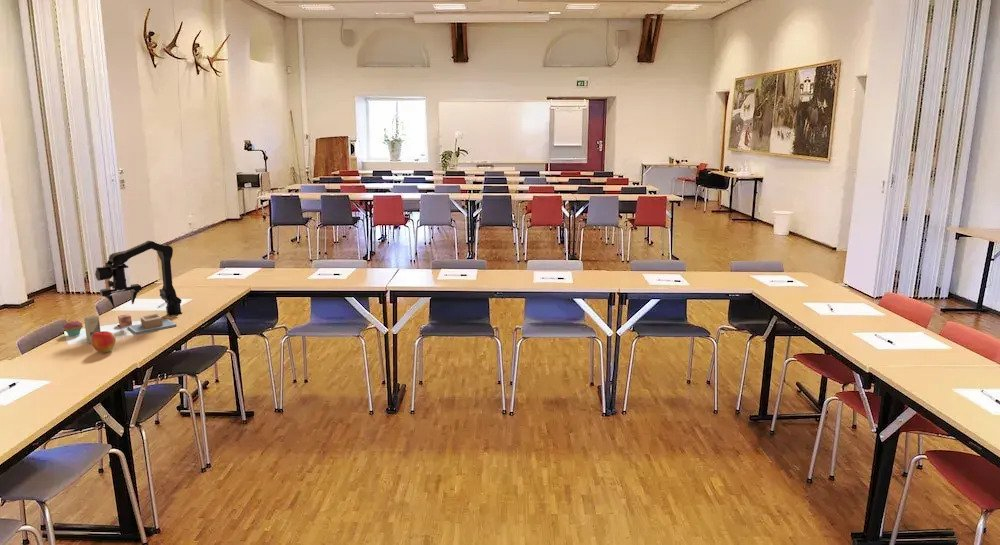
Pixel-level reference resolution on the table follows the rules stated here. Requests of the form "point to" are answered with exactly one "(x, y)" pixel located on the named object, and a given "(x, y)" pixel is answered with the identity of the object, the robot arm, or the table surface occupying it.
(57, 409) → the table surface
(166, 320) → the blueprint board
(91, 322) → the box
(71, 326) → the cupcake
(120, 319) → the terracotta block
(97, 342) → the apple
